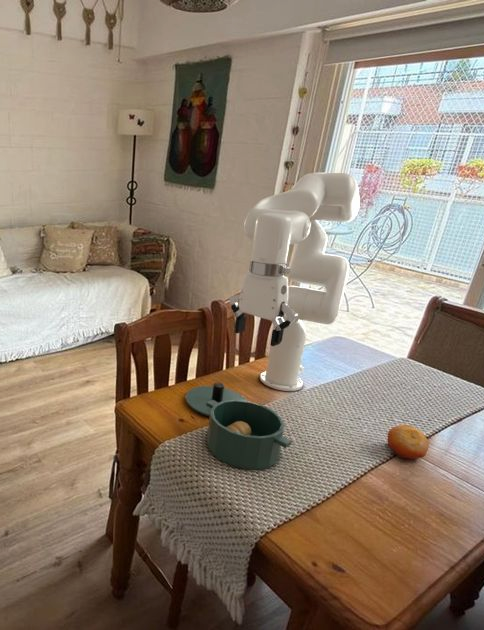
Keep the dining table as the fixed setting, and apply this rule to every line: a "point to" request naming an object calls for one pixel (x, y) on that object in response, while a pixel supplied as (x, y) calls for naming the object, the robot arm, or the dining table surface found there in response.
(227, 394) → the lid
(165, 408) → the dining table surface
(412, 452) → the fruit
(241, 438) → the pot
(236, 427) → the tan rounded piece
